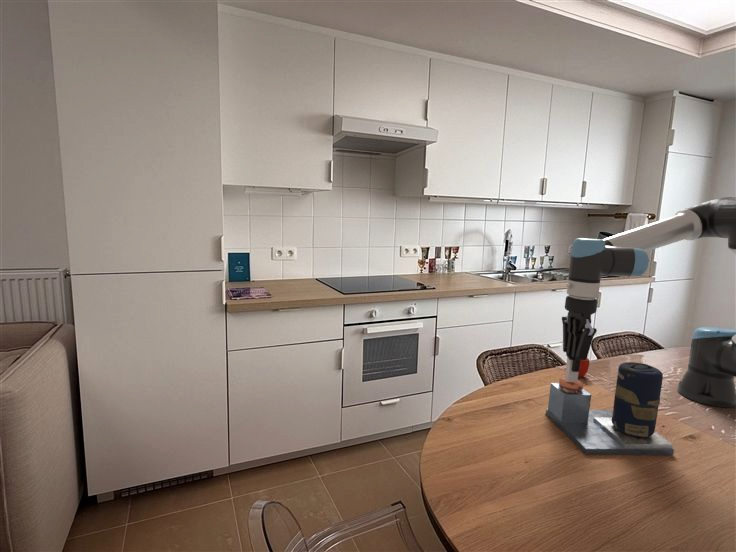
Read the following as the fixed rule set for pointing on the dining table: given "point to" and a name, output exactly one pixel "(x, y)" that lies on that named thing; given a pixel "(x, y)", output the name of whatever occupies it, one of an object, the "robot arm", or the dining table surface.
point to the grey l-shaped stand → (598, 427)
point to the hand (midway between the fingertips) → (571, 381)
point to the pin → (571, 385)
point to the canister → (637, 398)
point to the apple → (583, 367)
